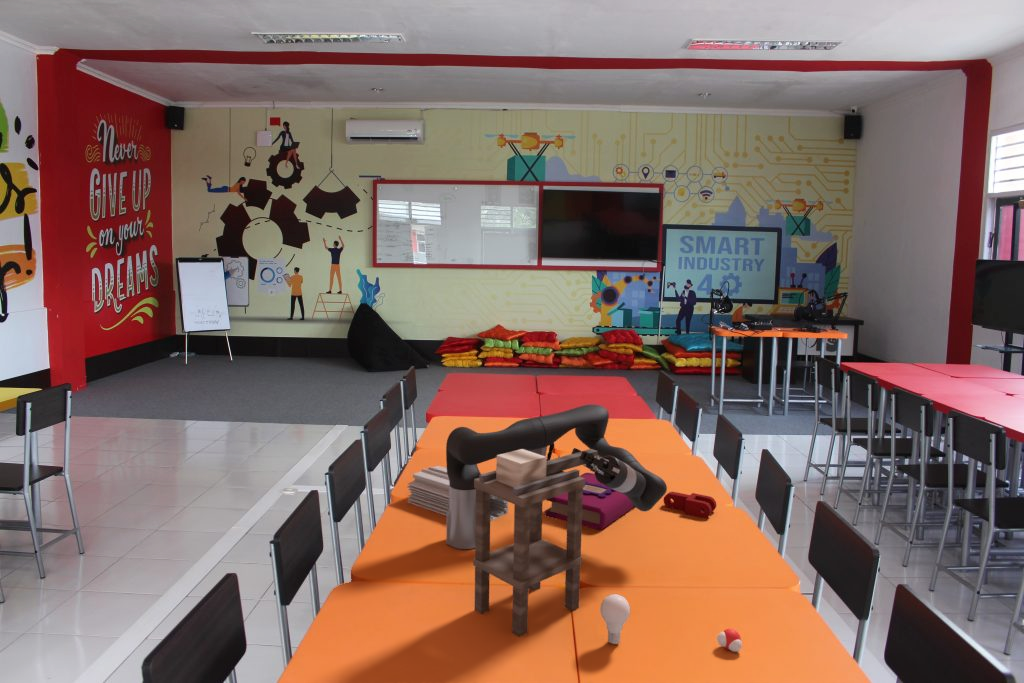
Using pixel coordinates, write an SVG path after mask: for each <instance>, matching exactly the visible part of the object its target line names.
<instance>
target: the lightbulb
mask: <svg viewBox="0 0 1024 683" xmlns="http://www.w3.org/2000/svg"><path fill="white" fill-rule="evenodd" d="M600 615H601V618H602V619H603V620H604V622H605V625H606V630H607V642H608V643H610V644H612V645H618V644H619V643H621V632H622V631H623V627H624V624H625V623H626V622H627V621H628V620H629V617H630V615H631V607H630V604H629V602H628V600H627V599H626V598H625V597H624V596H622V595H620V594H615V593H614V594H612V593H611V594H610V595H607V596H606V597H605V598H603V600H602V602H601V604H600Z"/></svg>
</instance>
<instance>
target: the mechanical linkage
mask: <svg viewBox="0 0 1024 683" xmlns="http://www.w3.org/2000/svg"><path fill="white" fill-rule="evenodd" d="M663 504H664V506H665V507H666V508H668V509H673V510H678V511H683V512H684V514H685V515H688V516H693V517H698V518H702V519H706V518H709V516H710V515H711V514H712V513H713V512H714V511H715V509H717V501H716V500H715V498H713V497H712V496H710V495H705V494H700V493H696V492H695V493H694V492H692V493H691V494H688V493H687V494H686V493H682V492H681V493H680V492H677V491H669V492H668V493H666V494H665V495H664V496H663Z"/></svg>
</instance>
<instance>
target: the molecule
mask: <svg viewBox="0 0 1024 683" xmlns="http://www.w3.org/2000/svg"><path fill="white" fill-rule="evenodd" d="M716 636H717V637H716V640H717V643H718V644H719V646H721V647H723V648H726V649H727V650H730V651H731V652H733V653H738V652H739V651H741V649H742V647H743V643H742V638H741V635H740V634H739V632H738V631H737V630H735V629H733V628H726V629H725V630H723V631H721V632H719V633H718V635H716Z"/></svg>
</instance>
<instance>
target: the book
mask: <svg viewBox="0 0 1024 683" xmlns="http://www.w3.org/2000/svg"><path fill="white" fill-rule="evenodd" d="M579 477H582V478H585V487H583V502H582V527H587V528H591V529H594V530H597V531H602V530H603V529H605V528H606V527H607V526H609V525H610V524H612V523H613V522H614V521H616V520H618V519H619V518H620V517H622V516H623V515H625V514H626V513H628V512H629V511H630V510H632V509H633V508H634V507H635V506H634V505H633V503H632V502H631V500H630V499H629V498H628V497H627V496H626V495H624V494H623V493H621V492H618V491H615V490H613V489H611V488H609V487H607V486H605V485H603V484H602V483H600V482H598V480H597V479H596V477H595V473H594V472H584V473H582V474H581V475H579ZM546 501H547V502H551V507H549V508H548V509H547V510H545V511H544V516H545V515H546V516H545V517H547V516H549V518H551V517H553V518H552V519H556V518H557V520H560V521H563V522H567V513H568V493H565V494H562V495H559V496H556V497H553V498H550V499H547V500H546ZM635 508H636V507H635Z"/></svg>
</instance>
